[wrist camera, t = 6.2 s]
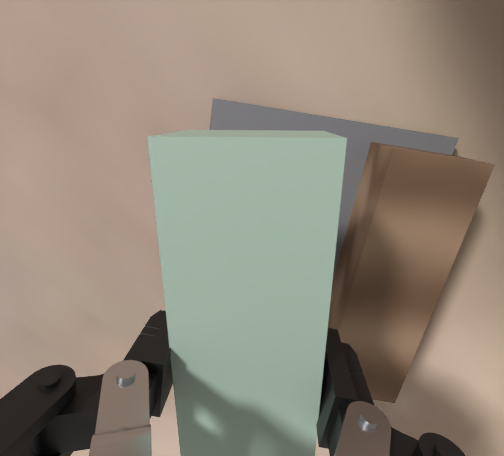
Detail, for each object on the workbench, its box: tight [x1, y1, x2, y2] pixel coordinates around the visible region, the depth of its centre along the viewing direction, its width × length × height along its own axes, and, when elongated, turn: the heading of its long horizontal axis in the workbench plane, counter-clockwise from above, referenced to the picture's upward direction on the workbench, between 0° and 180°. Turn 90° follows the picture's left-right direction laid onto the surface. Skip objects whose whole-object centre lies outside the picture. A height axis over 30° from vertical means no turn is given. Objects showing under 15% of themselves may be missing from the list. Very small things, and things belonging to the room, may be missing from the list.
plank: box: [147, 130, 347, 456], centre depth 12 cm, size 16×5×4 cm, turn 0°
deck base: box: [210, 98, 458, 278], centre depth 23 cm, size 18×15×1 cm
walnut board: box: [328, 142, 494, 403], centre depth 20 cm, size 16×5×4 cm, turn 171°
